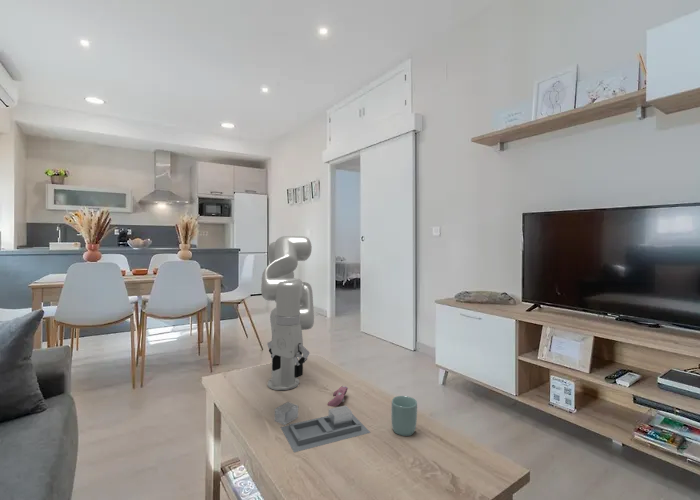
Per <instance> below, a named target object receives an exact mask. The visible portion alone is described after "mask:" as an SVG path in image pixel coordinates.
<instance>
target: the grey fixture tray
mask: <svg viewBox="0 0 700 500" xmlns="http://www.w3.org/2000/svg"><path fill="white" fill-rule="evenodd" d="M328 417H329V415H325V416H320V417H317V418H313V419H307V420H303V421H299V422H293V423H290V424H289V423H288V424H287V425H283V426H280V429H281V431H282V433H283V435H284V437H285V438H286V440H287V442H288V444H289V446H290V448H291V450H292V452H293V453H297V452H301V451H305V450H309V449H312V448H315V447H316V448H317V447H321V446H324V445H328V444H332V443H336V442H340V441H343V440H349V439H351V438H356V437H359V436H362V435H366V434H370V433H371V431H370V430H369V429H368V428H367V427H366V426H365V425H364V424H363V423H362V422H361V421H360V420H359V419H358V418H357V417H356V416H355V415H354V414H353V413H352V426H349V427H345V428H341V429H337V430H332V428H331V427H330V426H329V425H328Z"/></svg>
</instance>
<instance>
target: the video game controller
mask: <svg viewBox="0 0 700 500" xmlns="http://www.w3.org/2000/svg"><path fill="white" fill-rule="evenodd" d="M348 390H349V388H348V387H347V386H344V385H342V386H340V387H339V388H338V389H336V390H335V391H334V392H333V393H332V396H333V397H334V398H332V399H331V400H329V402H328V403H327V404H326V405H327V406H328V407H339V405H340V404H341V403H343V402H345V395H346V394H347V393H348ZM340 406H341V405H340Z"/></svg>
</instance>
